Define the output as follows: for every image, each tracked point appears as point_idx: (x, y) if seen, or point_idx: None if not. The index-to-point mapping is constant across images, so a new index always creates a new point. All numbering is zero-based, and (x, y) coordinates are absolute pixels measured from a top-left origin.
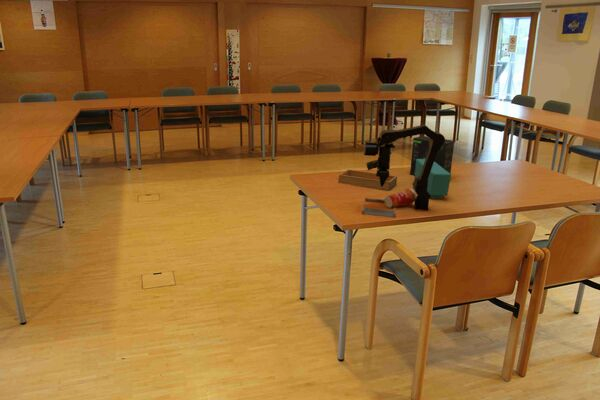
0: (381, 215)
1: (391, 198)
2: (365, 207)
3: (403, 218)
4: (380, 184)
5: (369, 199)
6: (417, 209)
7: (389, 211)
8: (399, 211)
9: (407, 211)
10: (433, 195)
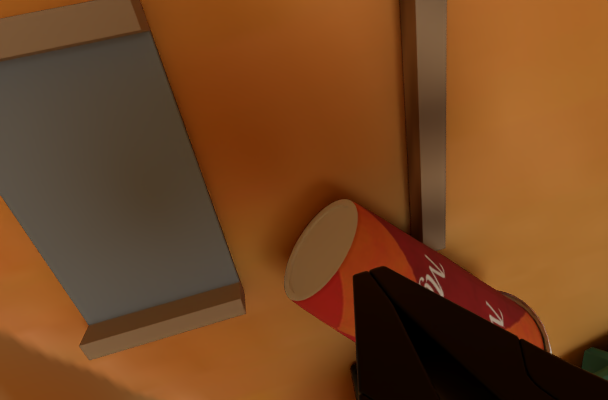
0: (37, 247)
1: (307, 304)
2: (129, 34)
3: (120, 375)
4: (355, 299)
5: (414, 6)
6: (351, 374)
7: (197, 265)
8: (260, 309)
9: (290, 344)
10: (601, 368)
